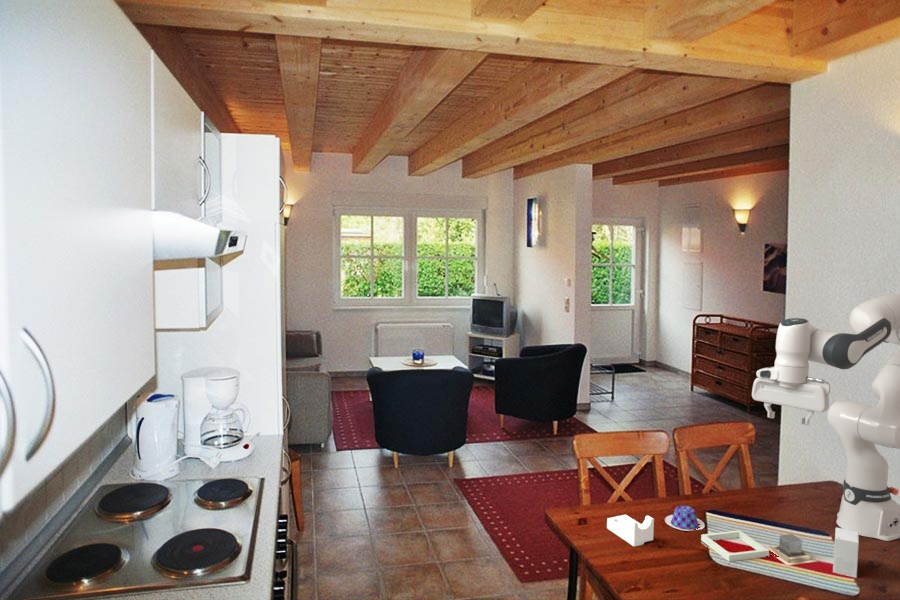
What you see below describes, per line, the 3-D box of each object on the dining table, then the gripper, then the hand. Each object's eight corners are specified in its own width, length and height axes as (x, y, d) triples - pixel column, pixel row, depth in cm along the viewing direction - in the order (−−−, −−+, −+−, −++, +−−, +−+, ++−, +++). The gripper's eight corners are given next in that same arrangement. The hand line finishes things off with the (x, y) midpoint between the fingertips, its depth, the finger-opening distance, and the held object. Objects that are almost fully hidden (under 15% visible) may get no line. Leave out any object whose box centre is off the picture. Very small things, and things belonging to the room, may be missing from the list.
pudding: (689, 536, 200) (690, 520, 200) (656, 522, 210) (657, 506, 209) (712, 526, 207) (713, 510, 207) (679, 513, 217) (680, 498, 216)
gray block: (790, 550, 189) (791, 533, 189) (801, 557, 186) (802, 540, 185) (779, 552, 189) (779, 535, 188) (789, 558, 185) (790, 541, 184)
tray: (739, 538, 199) (739, 530, 198) (768, 558, 186) (769, 550, 186) (701, 542, 196) (701, 534, 196) (728, 564, 183) (729, 555, 183)
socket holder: (792, 547, 193) (792, 541, 193) (818, 563, 183) (818, 557, 183) (762, 550, 191) (763, 544, 191) (787, 567, 181) (787, 561, 181)
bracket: (653, 543, 196) (653, 518, 195) (634, 547, 193) (634, 522, 193) (625, 525, 208) (626, 502, 207) (606, 529, 205) (607, 506, 204)
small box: (856, 580, 175) (859, 543, 173) (832, 575, 178) (834, 537, 176) (856, 567, 181) (859, 531, 180) (833, 562, 184) (835, 526, 183)
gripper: (834, 378, 185) (830, 426, 186) (759, 367, 199) (756, 412, 201) (827, 382, 180) (823, 431, 182) (751, 370, 195) (748, 415, 196)
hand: (787, 421), depth 191 cm, fingers open, 8 cm apart
